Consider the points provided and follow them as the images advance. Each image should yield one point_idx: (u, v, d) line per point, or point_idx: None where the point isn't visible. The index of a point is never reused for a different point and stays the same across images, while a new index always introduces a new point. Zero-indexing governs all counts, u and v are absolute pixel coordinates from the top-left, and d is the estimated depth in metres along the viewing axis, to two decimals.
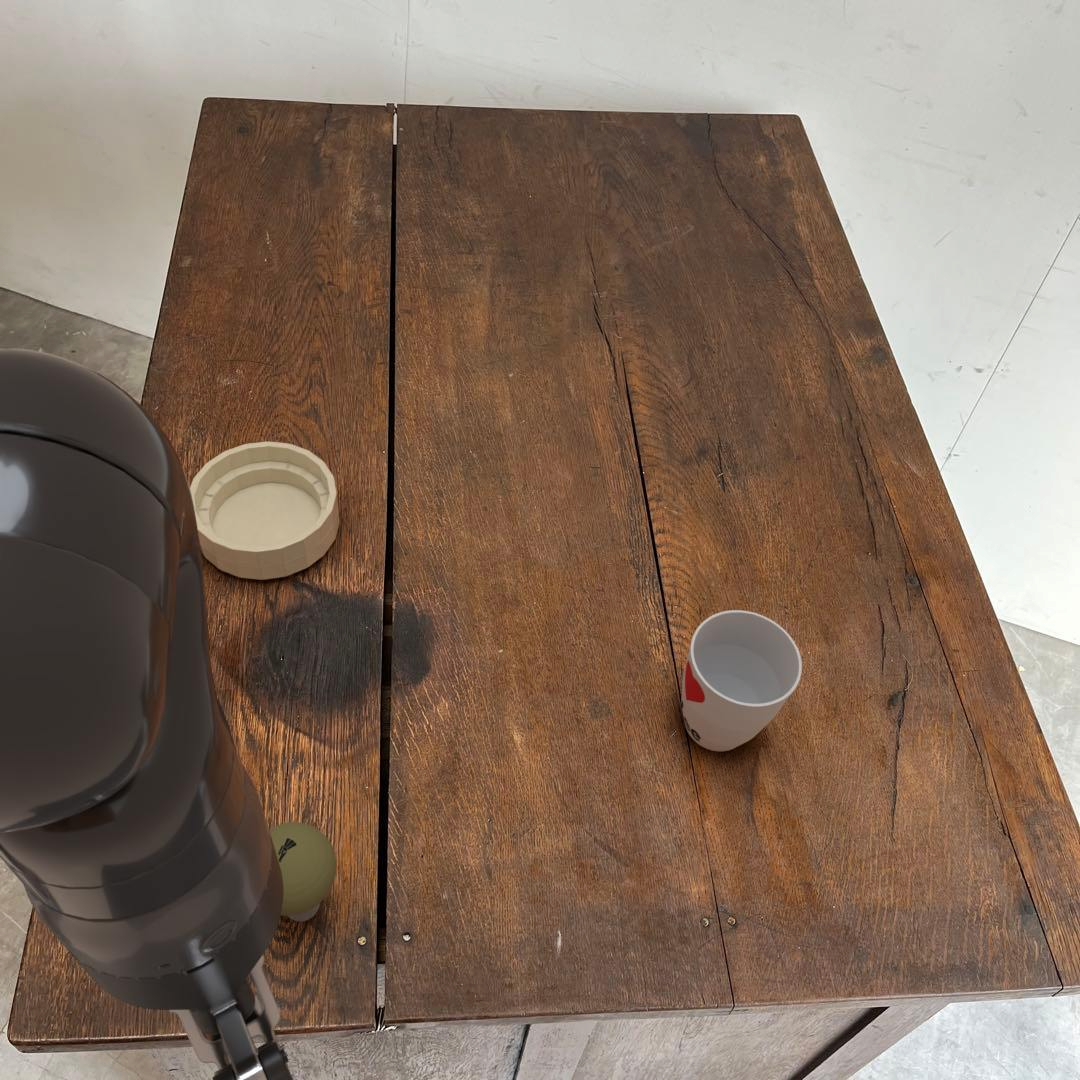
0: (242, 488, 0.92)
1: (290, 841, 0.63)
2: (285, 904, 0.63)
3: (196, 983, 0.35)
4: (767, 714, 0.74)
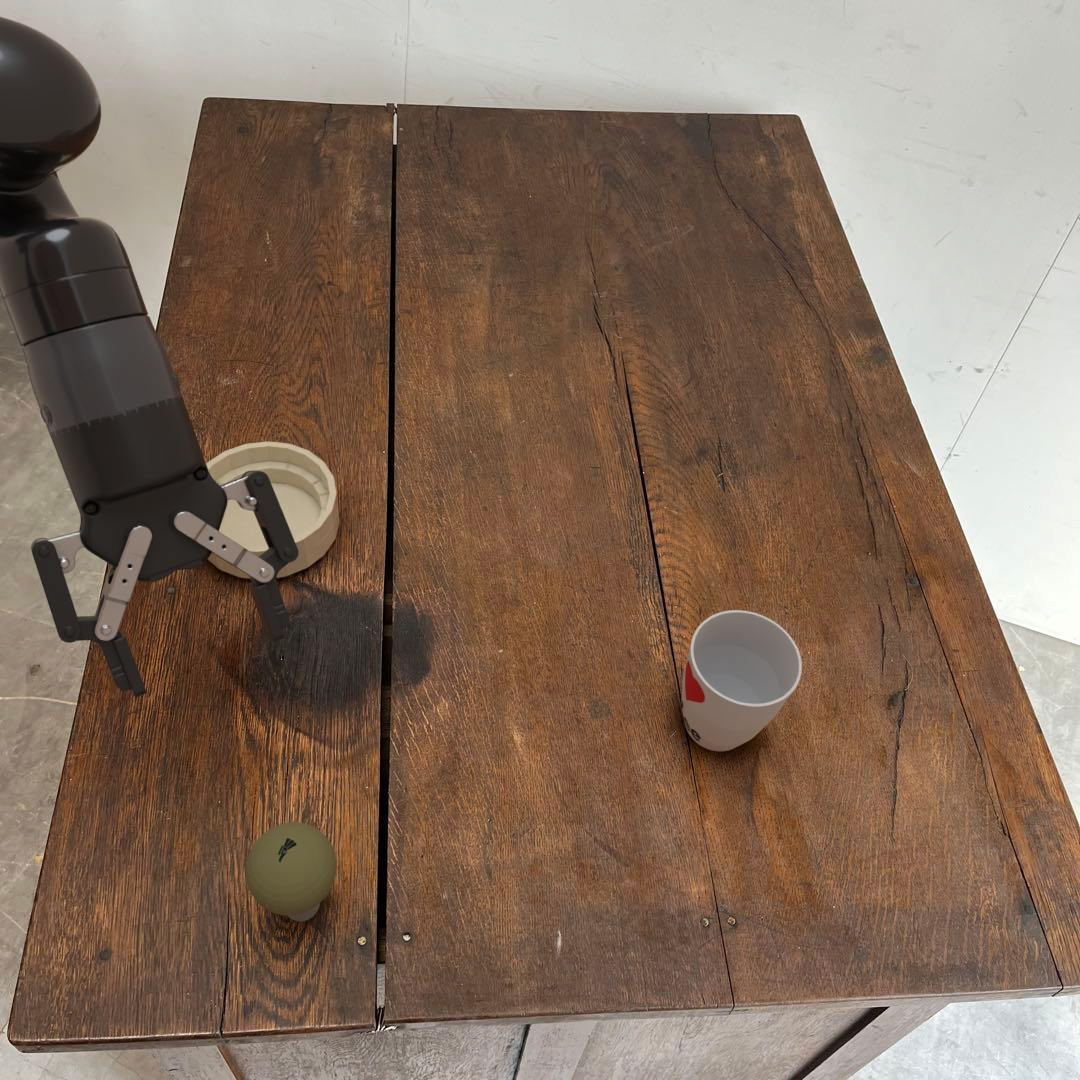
0: None
1: (290, 841, 0.63)
2: (285, 904, 0.63)
3: None
4: (767, 714, 0.74)
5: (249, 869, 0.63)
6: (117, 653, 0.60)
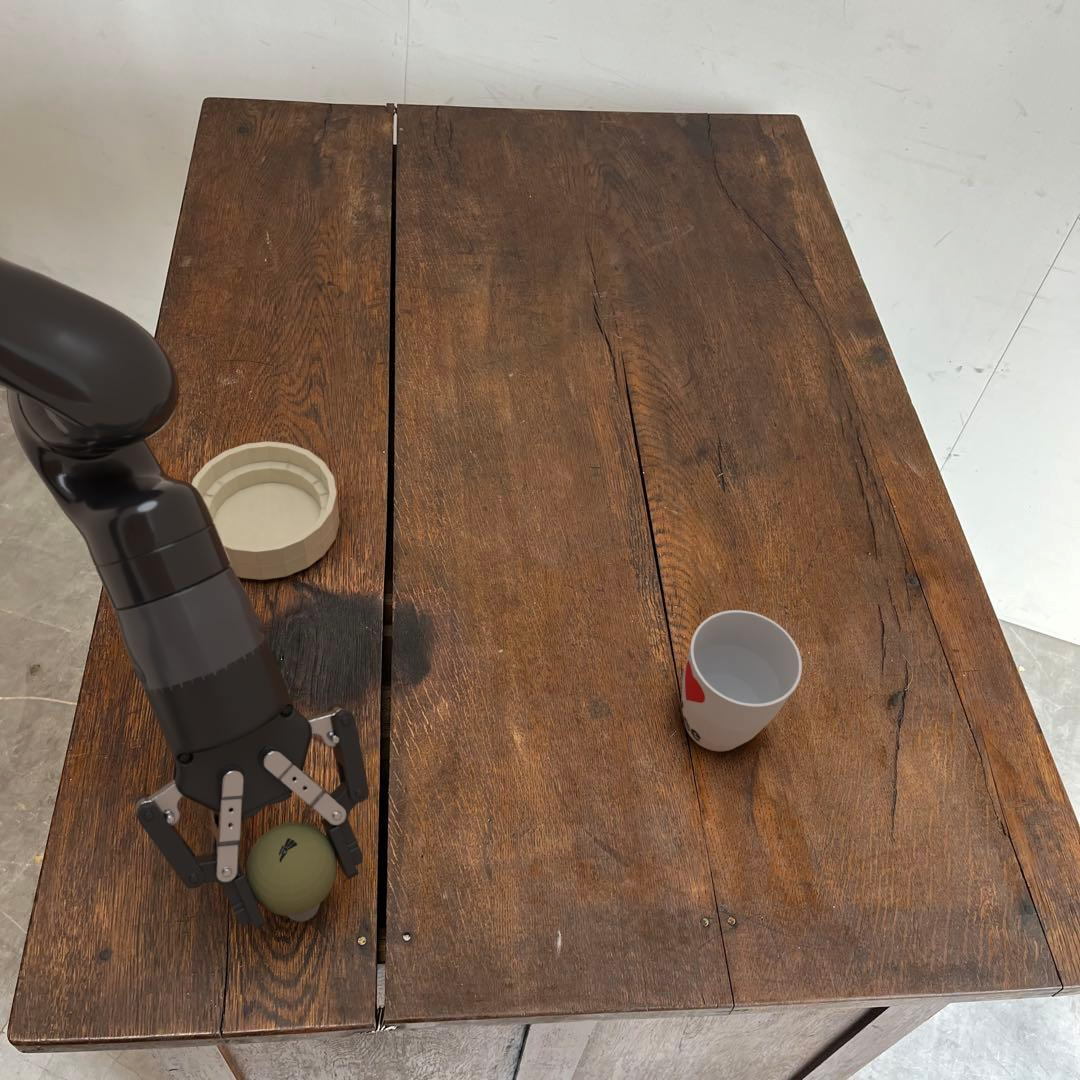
0: (242, 488, 0.92)
1: (291, 841, 0.63)
2: (286, 904, 0.63)
3: None
4: (767, 714, 0.74)
5: (249, 869, 0.63)
6: (237, 891, 0.62)
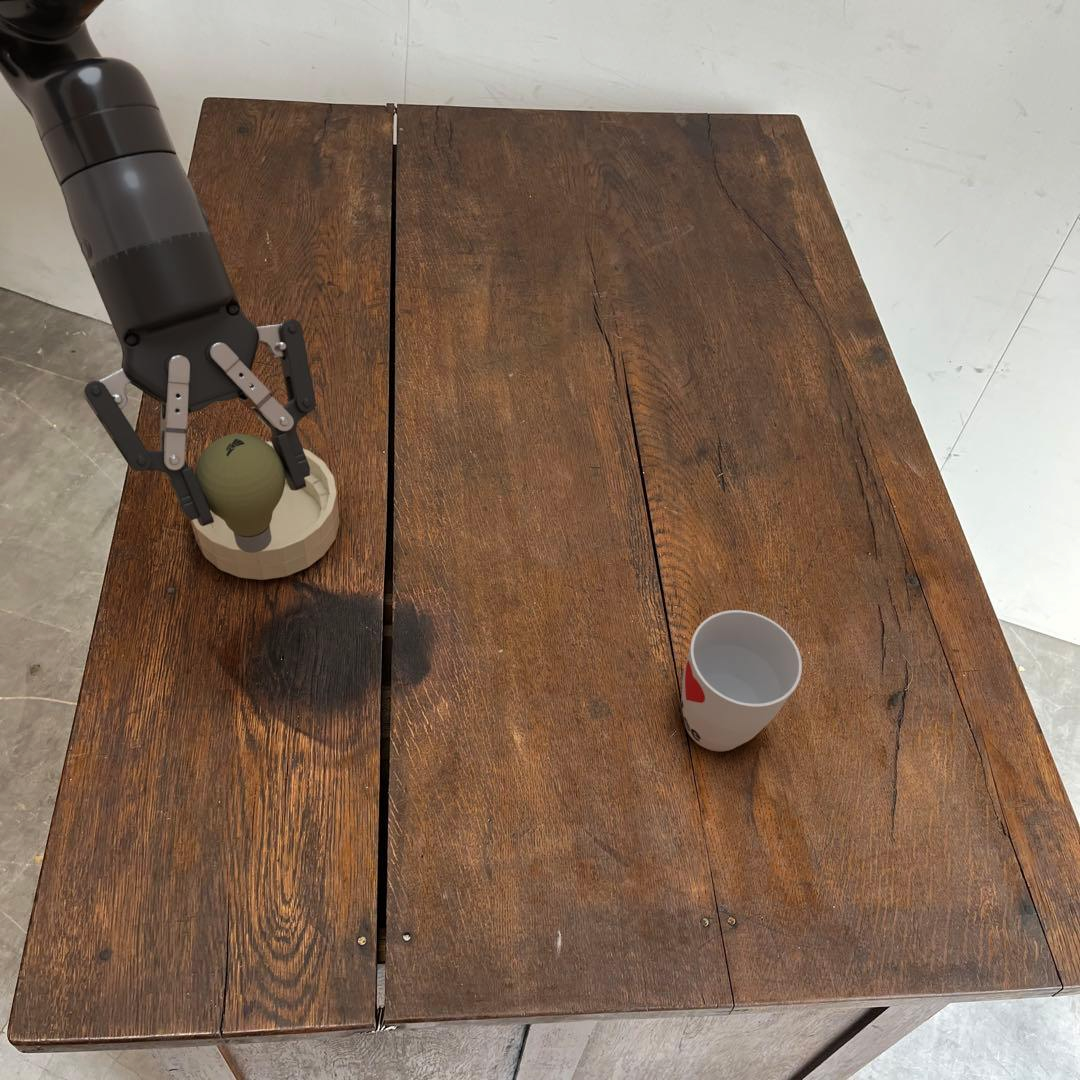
0: None
1: (238, 441, 0.64)
2: (233, 498, 0.64)
3: (101, 298, 0.62)
4: (767, 714, 0.74)
5: (198, 468, 0.65)
6: (185, 483, 0.63)
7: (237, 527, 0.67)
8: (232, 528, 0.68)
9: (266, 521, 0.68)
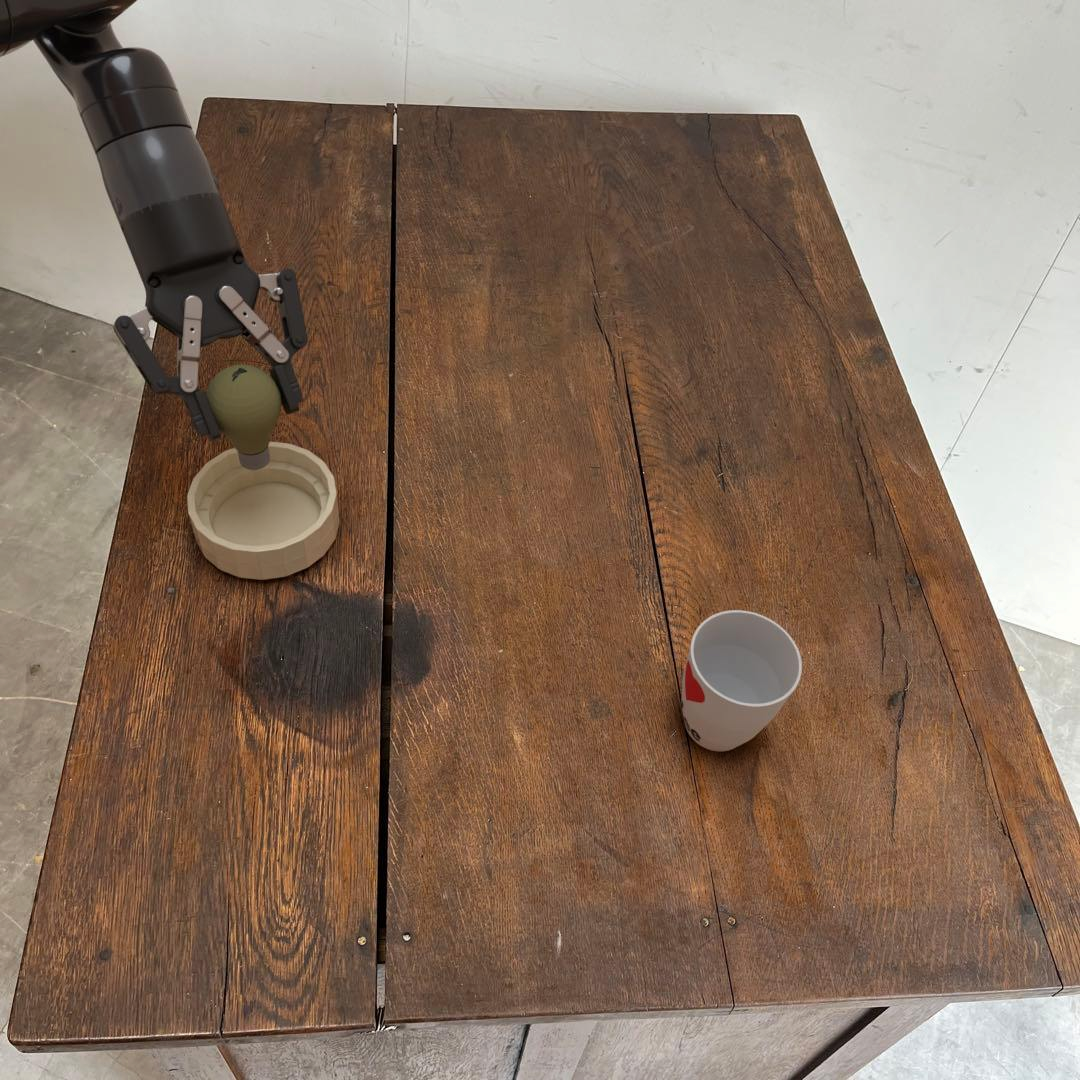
0: (242, 488, 0.92)
1: (242, 369, 0.77)
2: (237, 417, 0.76)
3: (129, 248, 0.74)
4: (767, 714, 0.74)
5: (208, 392, 0.77)
6: (198, 404, 0.76)
7: (241, 445, 0.80)
8: (236, 446, 0.80)
9: (265, 441, 0.81)
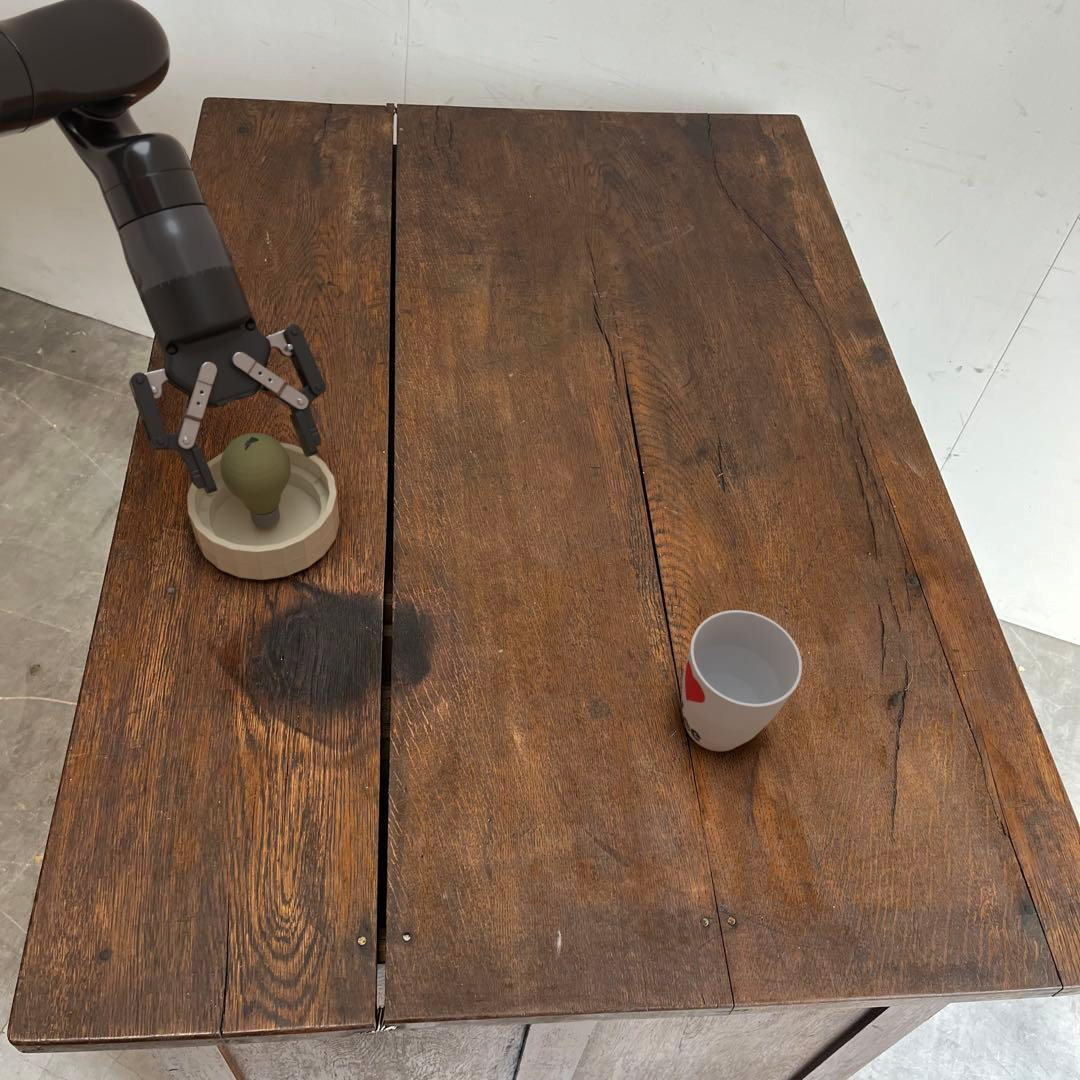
0: None
1: (254, 438, 0.83)
2: (250, 483, 0.82)
3: (148, 318, 0.79)
4: (767, 714, 0.74)
5: (222, 460, 0.83)
6: (195, 459, 0.80)
7: (253, 506, 0.86)
8: (249, 507, 0.86)
9: (275, 502, 0.86)
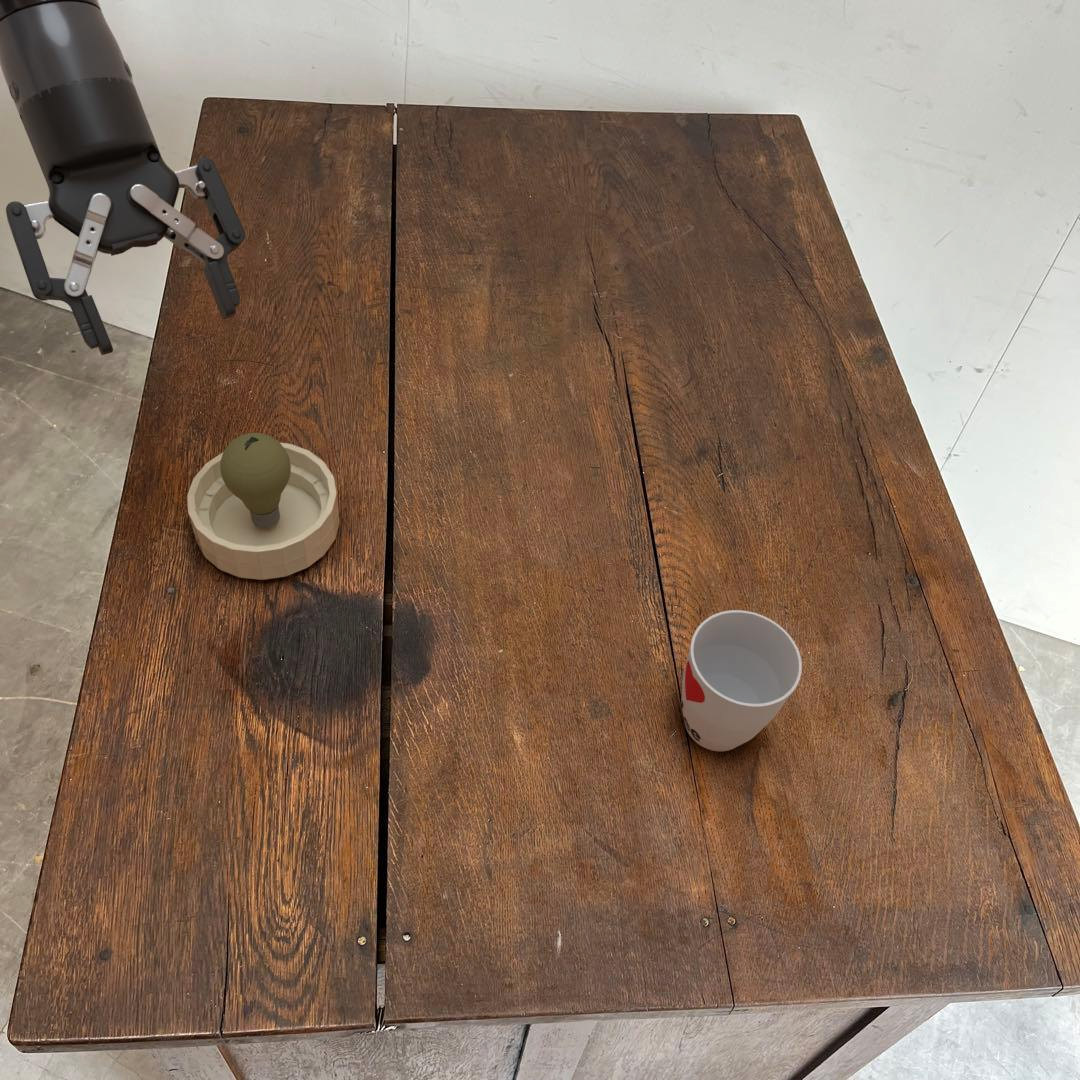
0: None
1: (254, 438, 0.83)
2: (250, 483, 0.82)
3: (30, 141, 0.67)
4: (767, 714, 0.74)
5: (222, 460, 0.83)
6: (85, 310, 0.68)
7: (253, 506, 0.86)
8: (249, 507, 0.86)
9: (275, 502, 0.86)
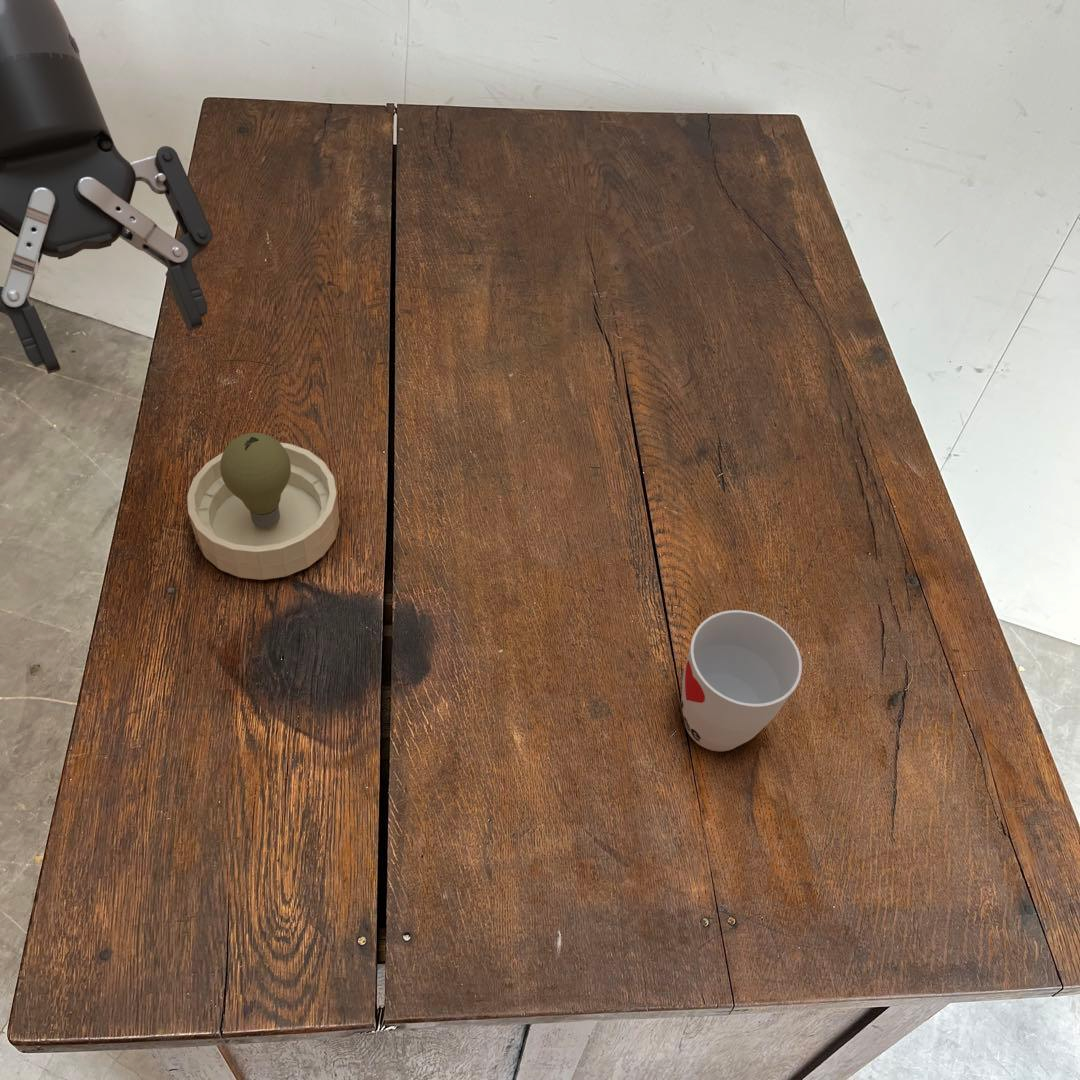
0: None
1: (254, 438, 0.83)
2: (250, 483, 0.82)
3: None
4: (767, 714, 0.74)
5: (222, 460, 0.83)
6: (27, 323, 0.59)
7: (253, 506, 0.86)
8: (249, 507, 0.86)
9: (275, 502, 0.86)
